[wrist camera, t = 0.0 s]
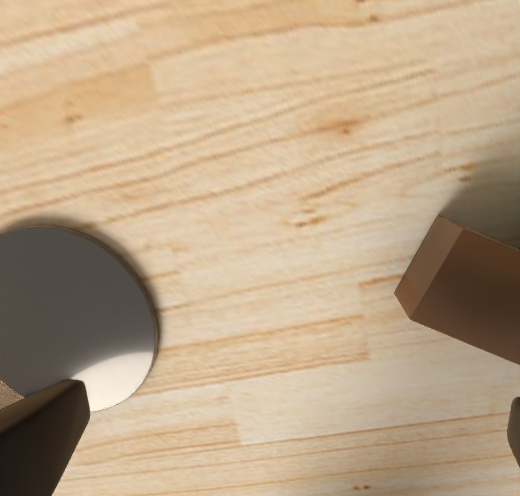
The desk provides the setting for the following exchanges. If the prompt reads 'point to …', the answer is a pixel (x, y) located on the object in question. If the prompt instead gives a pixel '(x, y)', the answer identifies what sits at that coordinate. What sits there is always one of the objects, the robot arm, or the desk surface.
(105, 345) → the coaster
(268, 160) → the desk surface
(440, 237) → the prop block
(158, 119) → the desk surface
